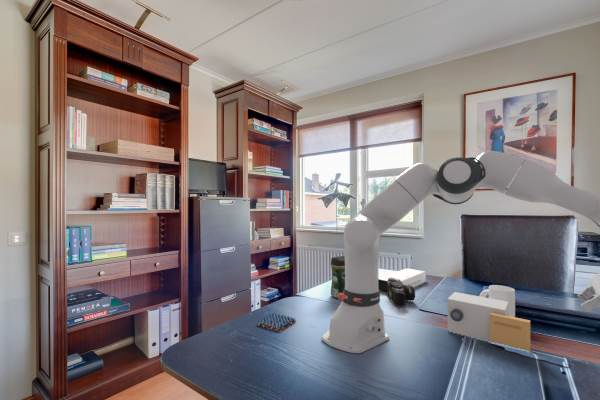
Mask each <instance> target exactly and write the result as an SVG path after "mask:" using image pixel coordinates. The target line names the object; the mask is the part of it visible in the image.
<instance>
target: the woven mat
mask: <svg viewBox="0 0 600 400" xmlns="http://www.w3.org/2000/svg"><path fill="white" fill-rule="evenodd" d="M257 322H258V323H257V326H261V327H263V328H266V329H267V330H273V331H276V332H278V333H280V332H283V331H284V330H286V329H288V327H290V326H293V324H295V323H296V322H297V320H296V318H295V317H292V316H291V317H290V316H289V315H288V316H287V315H283V314H280V313H277V312H275V313H273V312H272V313H271V314H268V316H266V317H263V318H261V319H260V320H257Z"/></svg>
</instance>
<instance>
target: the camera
mask: <svg viewBox="0 0 600 400" xmlns="http://www.w3.org/2000/svg"><path fill="white" fill-rule="evenodd" d="M386 293H387V298H388V299H389V300H390V302H392V303H393V305H394V306H395V307H396V308H399V309H401V308H404V307H405V305H406V302H408V301H409V302H411V301H415V298H416V290H415V287H413V286H410V285H404V284H403V283H402V282H401V280H399V279H395V278H392V277H391V278H388V281H387V292H386Z"/></svg>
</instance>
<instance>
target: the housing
mask: <svg viewBox="0 0 600 400" xmlns="http://www.w3.org/2000/svg"><path fill="white" fill-rule="evenodd" d="M446 300H447V305H446V306H447V307H446V308H447V313H446V314H447V315H446V316H447V317H446V318H447V325H446V327H447V330H446V331H447V332H448V331H449V332H448V333H451V332H453V333H452V334H455V333H457V334H456V335H459V334H461V335H460V336H463V335H465V336H464V337H466V336H470V337H475V338H480V339H483V340H489V341H490V313H491V312H492V313H497V314H502V315H506V316H509V309H508V302H507V301H502V300H496V299H491V298H489V297H480V295H473V294H468V293H462V292H458V291H454V292H453V293H452V294H451V295H449V297H448V298H447V299H446ZM470 337H469V338H470Z"/></svg>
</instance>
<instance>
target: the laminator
mask: <svg viewBox="0 0 600 400" xmlns="http://www.w3.org/2000/svg"><path fill="white" fill-rule="evenodd" d="M426 272H427V271H425V270H419V269H415V268H407V267H406V268H404V269H400V270H398V271H395V272H392V273H389V274H386V275H384V276H381V277H378V289H379V290H380V292H383V293H387V281H388V278H391V277H392V278H395V279H399V280H401V282H402V283H403V284H404V285H410V286H413V287H414V288H417V287H418V286H420V285H422V284H424V283H426V282H427V280H426V279H427V277H426V276H427V273H426Z"/></svg>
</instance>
